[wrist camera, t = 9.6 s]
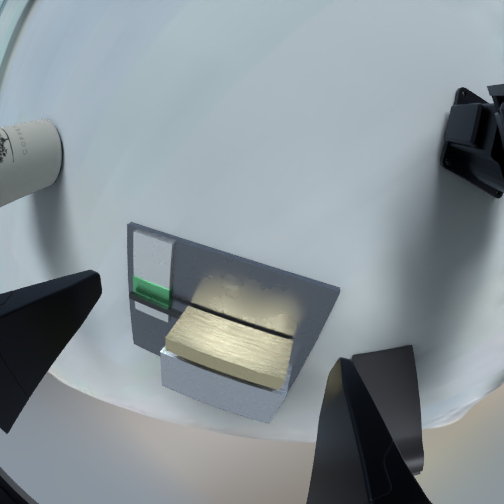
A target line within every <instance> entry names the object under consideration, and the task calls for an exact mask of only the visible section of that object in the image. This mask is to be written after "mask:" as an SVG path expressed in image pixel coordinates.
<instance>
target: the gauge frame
mask: <svg viewBox="0 0 504 504" xmlns="http://www.w3.org/2000/svg"><path fill="white" fill-rule="evenodd" d="M127 254H128V282H129V293H130V292H131V291H133V292H135V293H138V294H140V295H142V296H145V297H147V298H149V299H152V300H154V301H157V302H159V303H161V304H164V305H166V306H169V307H171V308H174V309H176V310H179V311H182V312H184V311H185V310H186V308H187V307H188V306H191V307H193V308H196V309H199V310H202V311H204V312H207V313H210V314H213V315H215V316H218V317H221V318H224V319H227V320H230V321H233V322H236V323H239V324H242V325H245V326H248V327H251V328H254V329H257V330H260V331H263V332H266V333H270V334H273V335H276V336H279V337H283V338H286V339H289V340H293V344H292V349H291V354H290V359H289V364H288V369H287V374H286V379H285V381H284V383H283V385H282V387H281V389H280V390H277V389H273V388H270V387H267V386H263V385H260V384H257V383H253V382H250V381H247V380H244V379H241V378H238V377H235V376H232V375H229V374H226V373H223V372H220V371H217V370H215V369H212V368H209V367H207V366H204V365H201V364H199V363H196V362H194V361H191V360H188V359H186V358H184V357H181V356H179V355H176V354H174V353H172V352H169V351H167V350H166V336H167V335H168V333H169V332H170V331H171V329H172V328H173V326H174V325H175V324H176V322H177V321H178V319H177V318H174V317H172V316H169V315H167V314H164V313H162V312H160V311H157V310H155V309H152V308H150V307H148V306H145V305H143V304H141V303H139V302H136V301H134V300H132V299H130V298H129V299H130V311H131V322H132V332H133V340H134V344H136V345H138V346H140V347H142V348H144V349H146V350H148V351H150V352H152V353H155V354H157V355H159V356H161V376H162V385H163V386H165V387H167V388H169V389H172V390H174V391H176V392H179V393H181V394H183V395H186V396H188V397H191V398H193V399H196V400H198V401H201V402H204V403H206V404H209V405H212V406H215V407H217V408H220V409H223V410H226V411H229V412H232V413H235V414H238V415H241V416H245V417H248V418H251V419H255V420H258V421H262V422H265V423H269V422H270V421H271V419H272V418H273V416H274V415H275V413H276V412H277V410H278V408H279V407H280V405H281V404H282V402H283V400H284V399H285V397H286V395H287V392H288V390H289V389H290V387H291V385H292V383H293V382H294V380H295V378H296V377H297V375H298V373H299V371H300V369H301V368H302V366H303V364H304V362H305V360H306V359H307V357H308V355H309V353H310V351H311V349H312V348H313V346H314V344H315V342H316V340H317V338H318V336H319V334H320V332H321V330H322V328H323V326H324V324H325V322H326V320H327V318H328V316H329V314H330V312H331V310H332V308H333V306H334V304H335V302H336V300H337V298H338V295H339V293H340V288H339V287H336V286H333V285H329V284H326V283H323V282H319V281H316V280H313V279H310V278H306V277H303V276H300V275H297V274H294V273H290V272H287V271H284V270H281V269H277V268H274V267H271V266H268V265H265V264H261V263H258V262H255V261H252V260H249V259H245V258H242V257H239V256H236V255H233V254H229V253H226V252H223V251H220V250H217V249H214V248H210V247H207V246H204V245H201V244H198V243H195V242H192V241H188V240H185V239H182V238H179V237H176V236H173V235H170V234H167V233H163V232H160V231H157V230H154V229H151V228H148V227H145V226H142V225H139V224H136V223H132V222H131V223H129V224H127Z"/></svg>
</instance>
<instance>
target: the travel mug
mask: <svg viewBox="0 0 504 504" xmlns="http://www.w3.org/2000/svg"><path fill="white" fill-rule="evenodd" d="M61 157H62V152H61V142H60V138H59V134H58V131H57V129H56V127H55V126H54V124H53V123H52V122H51V121H49V120H47V119H41V120H35V121H30V122H24V123H19V124H14V125H10V126H5V127H1V128H0V207H2V206H4V205H6V204H8V203H11V202H13V201H15V200H17V199H19V198H22V197H24V196H26V195H29V194H31V193H34V192H36V191H39V190H41V189H44V188H46V187H49V186H51V185H52V184H53V183H54V182H55V180H56V179H57V177H58V174H59V171H60V167H61Z"/></svg>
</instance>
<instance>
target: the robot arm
mask: <svg viewBox="0 0 504 504" xmlns="http://www.w3.org/2000/svg"><path fill="white" fill-rule="evenodd" d="M487 88H488V91H489V94H490V96H492V98H493V102H494V103H492V104H489V103H488V102H486V101H485V100H483V99H482V98H480V97H479V96H477V95H476V94H474V93H473V92H471V91H469V90H468V89H466V88H464V87H462V88H459V89H458V90H457V93H456V99H455V104H454V106H452V107H451V111H450V116H449V120H448V124H447V128H446V132H445V139H446V142H445V145H444V149H443V153H442V156H441V160H440V162H441V165H442V167H443V168H445V169H447V170H449V171H451V172H453V173H455V174H457V175H458V176H460V177H462V178H464V179H466V180H467V181H469V182H471V183H473V184H474V185H476V186H478V187H479V188H481V189H483V190H484V191H486V192H488V193H489V194H491V195H492V196H494V197H496V198H500V197H501V196H502V194H503V193H504V84H500V85H492V86H487ZM462 91H463V92H464V94H465V97H464V96H463V95H462ZM446 159H448V160H449V164H448V165H446V163H445V161H446ZM497 189H498V193H496V192H497ZM101 294H102V286H101V278H100V275H99V273H97V272H95V271H93V270H87V271H83V272H79V273H76V274H72V275H68V276H64V277H61V278H57V279H53V280H49V281H46V282H42V283H38V284H35V285H31V286H28V287H24V288H20V289H17V290H14V291H10V292H6V293H2V294H0V428H1V429H2V430H3V431H4V432H5V433H7V434H8V432H9V431H10V429H11V428H12V426H13V424H14V422H15V421H16V419H17V417H18V416H19V414H20V412H21V411H22V409H23V407H24V406H25V404H26V403H27V401H28V400H29V397H30V396H31V395H32V393H33V392H34V390H35V389H36V387H37V386H38V384H39V383H40V381H41V380H42V378H43V377H44V375H45V374H46V372H47V371H48V370H49V368H50V367H51V365H52V364H53V363H54V361H55V360H56V358H57V357H58V356H59V354H60V353H61V352H62V350H63V349H64V348H65V346H66V345H67V344H68V342H69V341H70V340H71V338H72V337H73V336H74V334H75V333H76V332H77V330H78V329H79V328H80V327H81V325H82V324H83V322H84V321H85V319H86V318H87V316H88V315H89V313H90V311H91V310H92V308H93V307H94V305H95V304H96V302H97V301H98V299H99V298H100V296H101ZM0 504H38V503H37V502H36V501H35V500H34V499H32V498H31V497H30V496H29V495H28V494H27V493H26V492H25V491H24V490H23V489H21V488H20V487H19V486H18V485H17V484H16V483H15V482H14V481H13V480H12V479H11V478H10V477H9V476H8V475H7V474H6V473H5V472H4V470H3V469H2V468H1V467H0ZM306 504H432V503H431V502H430V501H429V499H428V498H427V497H426V495H425V493H424V492H423V490H422V489H421V487H420V485H419V484H418V482H417V481H416V479H415V477H414V476H413V474H412V473H411V471H410V469H409V468H408V466H407V464H406V463H405V461H404V459H403V457H402V455H401V453H400V451H399V449H398V447H397V445H396V443H395V441H393V438H392V436H391V434H390V432H389V430H388V428H387V426H386V424H385V422H384V420H383V418H382V416H381V414H380V412H379V410H378V408H377V406H376V404H375V402H374V401H373V399H372V397H371V395H370V393H369V391H368V389H367V387H366V385H365V384H364V382H363V380H362V378H361V376H360V374H359V372H358V371H357V369H356V367H355V365H354V363H353V362H352V360H350V359H346V358H342V357H341V358H339V359H338V360H337V362H336V364H335V365H334V367H333V368H332V370H331V371H330V373H329V376H328V380H327V385H326V389H325V394H324V399H323V403H322V408H321V412H320V417H319V425H318V433H317V441H316V449H315V456H314V463H313V469H312V476H311V481H310V487H309V493H308V498H307V503H306Z"/></svg>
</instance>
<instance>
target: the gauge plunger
mask: <svg viewBox="0 0 504 504" xmlns="http://www.w3.org/2000/svg"><path fill="white" fill-rule="evenodd" d="M129 298H130V299H132V300H134V301H136V302H139V303H141V304H143V305H145V306H148V307H150V308H152V309H155V310H157V311H160V312H162V313H164V314H167V315H169V316H172V317H174V318H177V319H178V321H177V322H176V324H175V325H174V326H173V328H172V329H171V331H170V332H169V333H168V335H167V336H166V350H167V351H169V352H172V353H174V354H176V355H179V356H181V357H184V358H186V359H188V360H191V361H194V362H196V363H199V364H201V365H204V366H207V367H209V368H212V369H215V370H217V371H220V372H223V373H226V374H229V375H232V376H235V377H238V378H241V379H244V380H247V381H250V382H253V383H257V384H260V385H263V386H267V387H270V388H273V389H277V390H280V389H281V387H282V385H283V383H284V381H285V379H286V374H287V369H288V364H289V359H290V354H291V349H292V344H293V340H289V339H286V338H283V337H279V336H276V335H273V334H270V333H266V332H263V331H260V330H257V329H254V328H251V327H248V326H245V325H242V324H239V323H236V322H233V321H230V320H227V319H224V318H221V317H218V316H215V315H213V314H210V313H207V312H204V311H202V310H199V309H196V308H193V307H191V306H188V307H187V308H186V310H185V311H184V312H182V311H179V310H176V309H174V308H171V307H169V306H166V305H164V304H161V303H159V302H157V301H154V300H152V299H149V298H147V297H145V296H142V295H140V294H138V293H135V292H133V291H131V292H130V293H129Z"/></svg>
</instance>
